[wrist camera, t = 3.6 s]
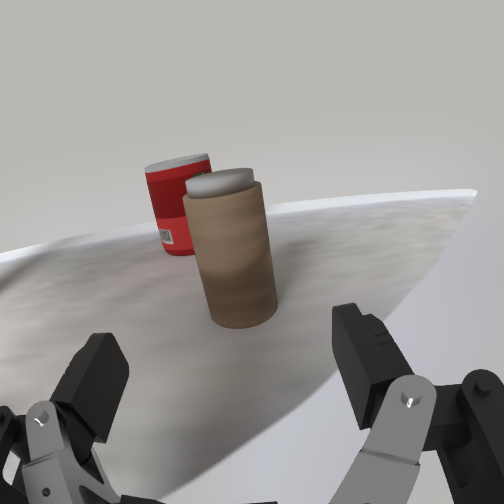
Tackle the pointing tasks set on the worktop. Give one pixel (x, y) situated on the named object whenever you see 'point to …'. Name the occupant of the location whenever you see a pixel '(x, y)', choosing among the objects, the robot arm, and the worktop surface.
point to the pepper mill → (232, 246)
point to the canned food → (174, 199)
